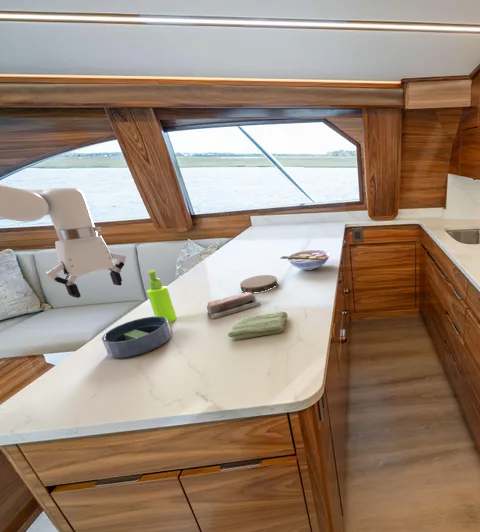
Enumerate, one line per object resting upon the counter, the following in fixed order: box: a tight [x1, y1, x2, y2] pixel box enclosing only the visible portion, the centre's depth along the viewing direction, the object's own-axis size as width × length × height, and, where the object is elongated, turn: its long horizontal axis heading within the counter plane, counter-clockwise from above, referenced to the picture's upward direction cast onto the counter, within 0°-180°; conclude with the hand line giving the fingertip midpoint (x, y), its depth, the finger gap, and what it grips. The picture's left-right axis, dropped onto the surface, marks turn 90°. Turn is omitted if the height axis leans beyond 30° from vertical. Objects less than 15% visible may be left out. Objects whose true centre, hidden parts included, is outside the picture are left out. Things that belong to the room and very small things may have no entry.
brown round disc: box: [239, 274, 278, 294], centre depth 143 cm, size 16×16×3 cm
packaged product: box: [206, 292, 261, 320], centre depth 121 cm, size 18×5×10 cm
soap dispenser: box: [146, 268, 177, 323], centre depth 111 cm, size 6×7×20 cm
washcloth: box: [227, 310, 289, 341], centre depth 105 cm, size 13×18×3 cm
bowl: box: [101, 316, 173, 358], centre depth 97 cm, size 16×16×6 cm
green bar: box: [124, 329, 149, 341], centre depth 97 cm, size 10×3×3 cm, turn 69°
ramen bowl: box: [280, 249, 331, 271], centre depth 166 cm, size 25×23×8 cm
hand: (98, 290), depth 88 cm, fingers open, 9 cm apart
